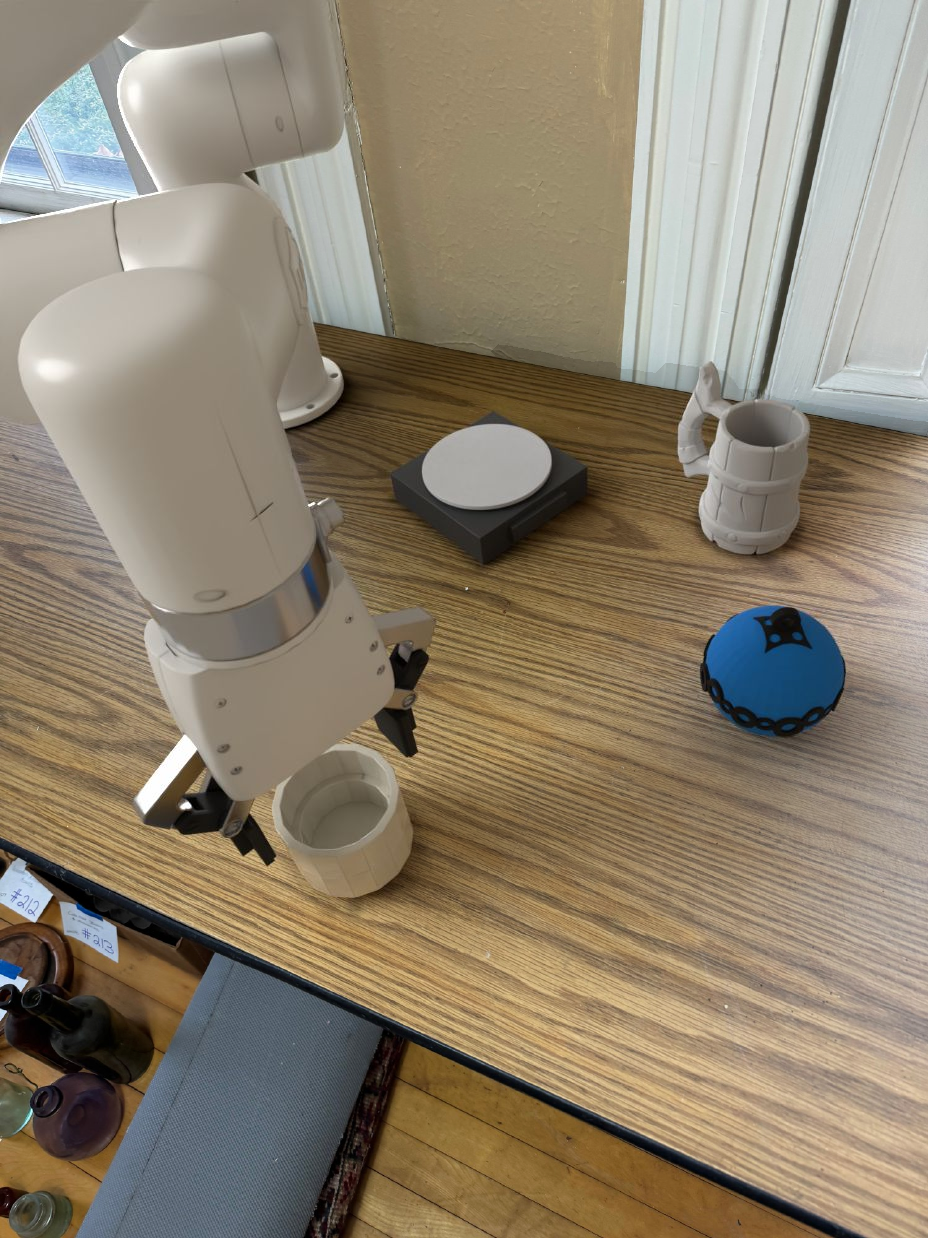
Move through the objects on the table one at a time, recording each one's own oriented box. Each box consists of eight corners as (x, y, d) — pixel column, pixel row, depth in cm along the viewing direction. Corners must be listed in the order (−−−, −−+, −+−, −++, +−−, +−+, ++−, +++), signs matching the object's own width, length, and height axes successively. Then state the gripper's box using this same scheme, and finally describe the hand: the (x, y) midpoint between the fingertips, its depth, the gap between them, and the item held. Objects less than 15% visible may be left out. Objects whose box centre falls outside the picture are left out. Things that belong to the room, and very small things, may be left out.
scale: (395, 499, 76) (388, 466, 73) (495, 437, 80) (492, 403, 78) (487, 568, 69) (483, 534, 66) (592, 496, 73) (592, 461, 71)
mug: (747, 572, 66) (772, 446, 57) (643, 496, 73) (650, 373, 64) (817, 528, 68) (851, 400, 59) (709, 458, 75) (725, 334, 66)
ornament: (808, 654, 60) (839, 552, 52) (847, 759, 54) (888, 661, 47) (684, 665, 61) (697, 565, 53) (710, 770, 55) (729, 674, 47)
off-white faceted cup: (276, 843, 55) (249, 795, 50) (369, 773, 57) (350, 722, 53) (341, 927, 51) (317, 883, 46) (437, 847, 53) (423, 799, 49)
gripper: (354, 448, 41) (410, 670, 54) (11, 643, 35) (166, 843, 47) (452, 518, 37) (488, 741, 49) (82, 755, 31) (231, 943, 43)
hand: (331, 791), depth 48 cm, fingers open, 9 cm apart
